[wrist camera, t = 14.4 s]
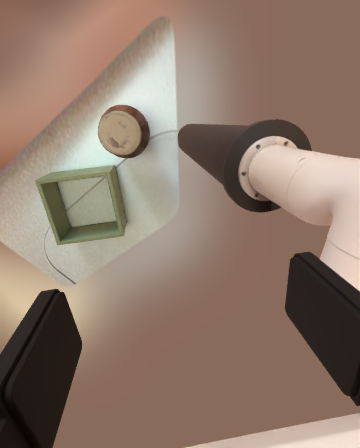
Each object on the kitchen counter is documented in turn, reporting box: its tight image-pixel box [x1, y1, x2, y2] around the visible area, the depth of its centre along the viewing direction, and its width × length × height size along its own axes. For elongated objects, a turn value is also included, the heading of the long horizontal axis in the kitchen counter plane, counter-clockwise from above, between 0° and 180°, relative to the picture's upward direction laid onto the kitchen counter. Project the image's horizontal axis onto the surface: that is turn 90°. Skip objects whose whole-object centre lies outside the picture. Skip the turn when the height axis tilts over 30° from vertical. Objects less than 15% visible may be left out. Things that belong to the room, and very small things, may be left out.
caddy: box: [35, 165, 127, 245], centre depth 41 cm, size 11×11×6 cm
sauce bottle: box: [98, 105, 150, 158], centre depth 31 cm, size 6×6×20 cm
